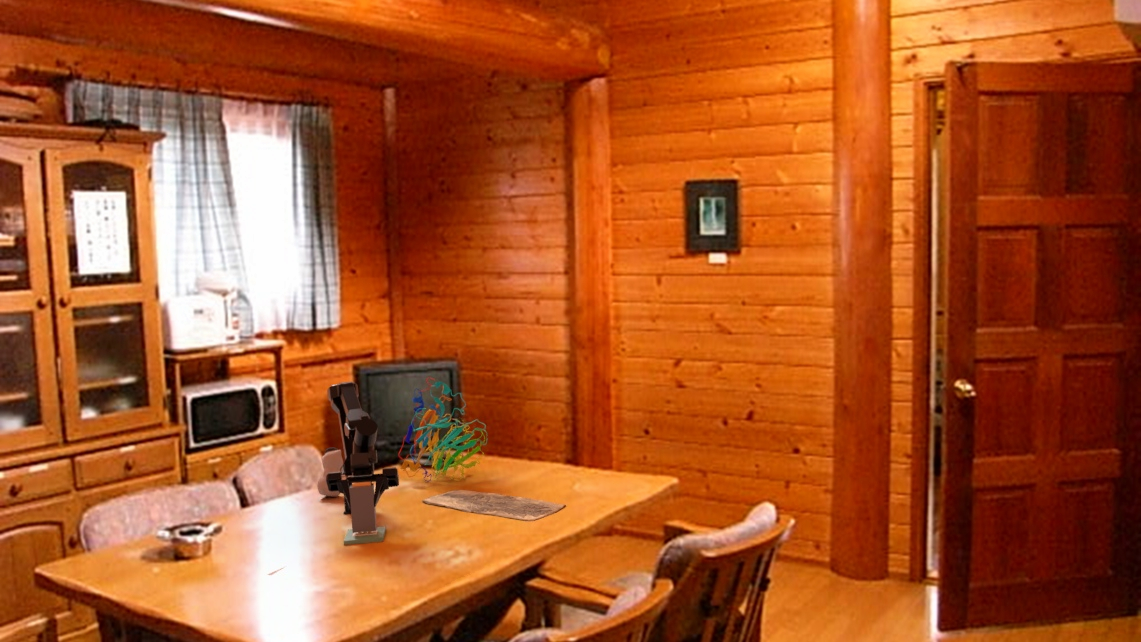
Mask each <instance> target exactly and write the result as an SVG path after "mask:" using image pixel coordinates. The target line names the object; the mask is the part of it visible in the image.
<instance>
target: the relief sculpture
mask: <svg viewBox="0 0 1141 642" xmlns="http://www.w3.org/2000/svg"><path fill="white" fill-rule="evenodd" d="M421 502H422V503H425V504H427V505H433V506H439V507H445V508H446V509H455V510H459V511H461V512H464V513H474V514H478V515H490V516H497V517H501V518H508V519H514V520H518V521H519V520H520V521H525V522H534V521H537V520H540V519H543V518H546V517H549V516H551V515H554V514H556V513H557V512H559V511H560V510H561V509H563V508H564V507H565V506H567V505H566V504H562V503H561V504H560V503H557V502H556V503H555V502H552V501H545V500H541V499H532V498H528V497H522V496H514V495H505V494H502V493H496V492H495V493H494V492H479V491H475V490H465V489H454V490H450V491H446V492H445V493H440V494H437V495H433V496H430V497H428V498H424V499H422V500H421Z"/></svg>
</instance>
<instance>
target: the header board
mask: <svg viewBox="0 0 1141 642" xmlns="http://www.w3.org/2000/svg"><path fill="white" fill-rule="evenodd" d="M386 531H387V527H386V526H385V525H384V526H377V529H376V531H369V532H357V533H353V531H352V528H350V529H347V532H346V534H345V535H344V539H343V545H344V546H346V545H347V546H348V545H357V544H358V545H359V544H370V543H379V542H380V543H381V542H384V538H385V534H386Z"/></svg>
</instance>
